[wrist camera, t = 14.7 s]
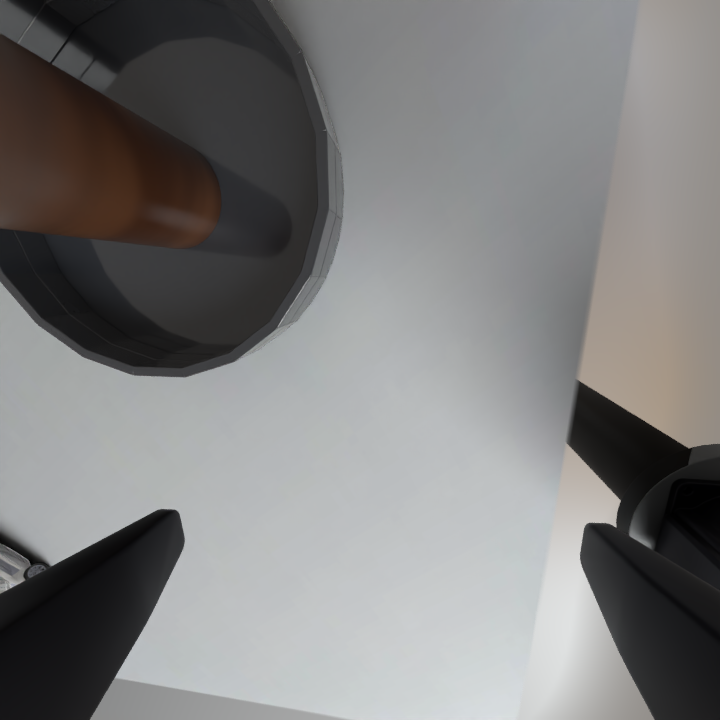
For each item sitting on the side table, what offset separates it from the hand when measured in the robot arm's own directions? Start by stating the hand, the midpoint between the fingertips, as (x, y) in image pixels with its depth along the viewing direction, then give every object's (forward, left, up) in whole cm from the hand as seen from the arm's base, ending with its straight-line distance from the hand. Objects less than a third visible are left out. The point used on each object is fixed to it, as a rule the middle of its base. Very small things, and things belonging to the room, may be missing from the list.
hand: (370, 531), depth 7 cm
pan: (+12, -10, -12) cm, 19 cm away
